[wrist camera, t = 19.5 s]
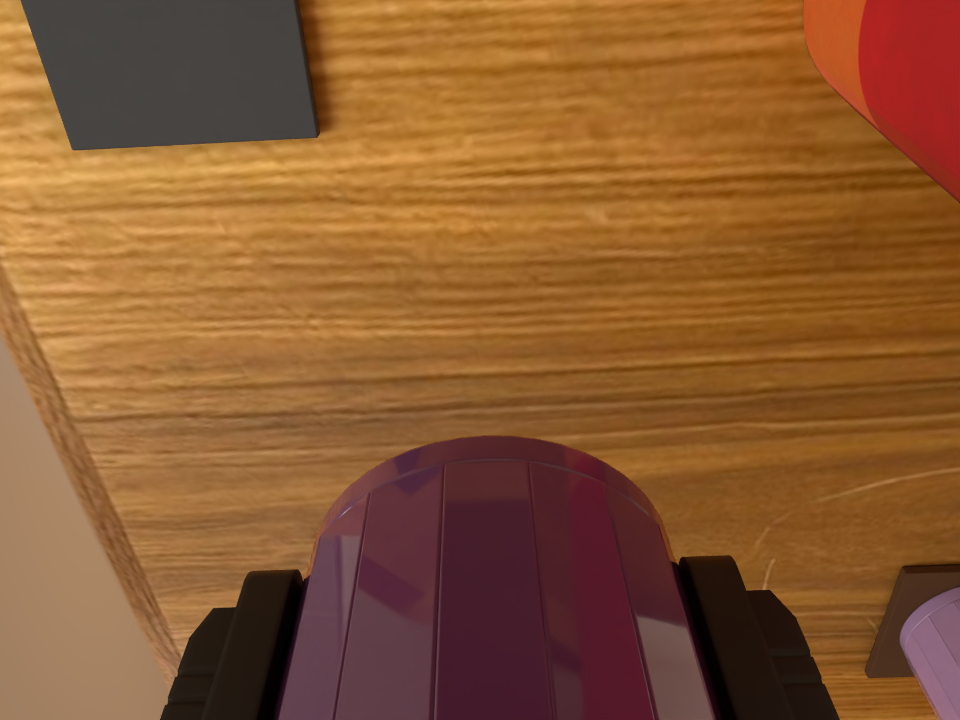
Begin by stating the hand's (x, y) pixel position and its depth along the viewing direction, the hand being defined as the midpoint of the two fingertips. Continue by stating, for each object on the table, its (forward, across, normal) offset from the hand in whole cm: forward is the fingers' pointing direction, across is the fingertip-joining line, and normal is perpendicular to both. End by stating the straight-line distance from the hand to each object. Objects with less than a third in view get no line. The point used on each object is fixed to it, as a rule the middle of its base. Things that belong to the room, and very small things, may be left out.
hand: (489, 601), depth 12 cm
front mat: (+14, +8, -7) cm, 17 cm away
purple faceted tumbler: (+1, 0, 0) cm, 1 cm away
